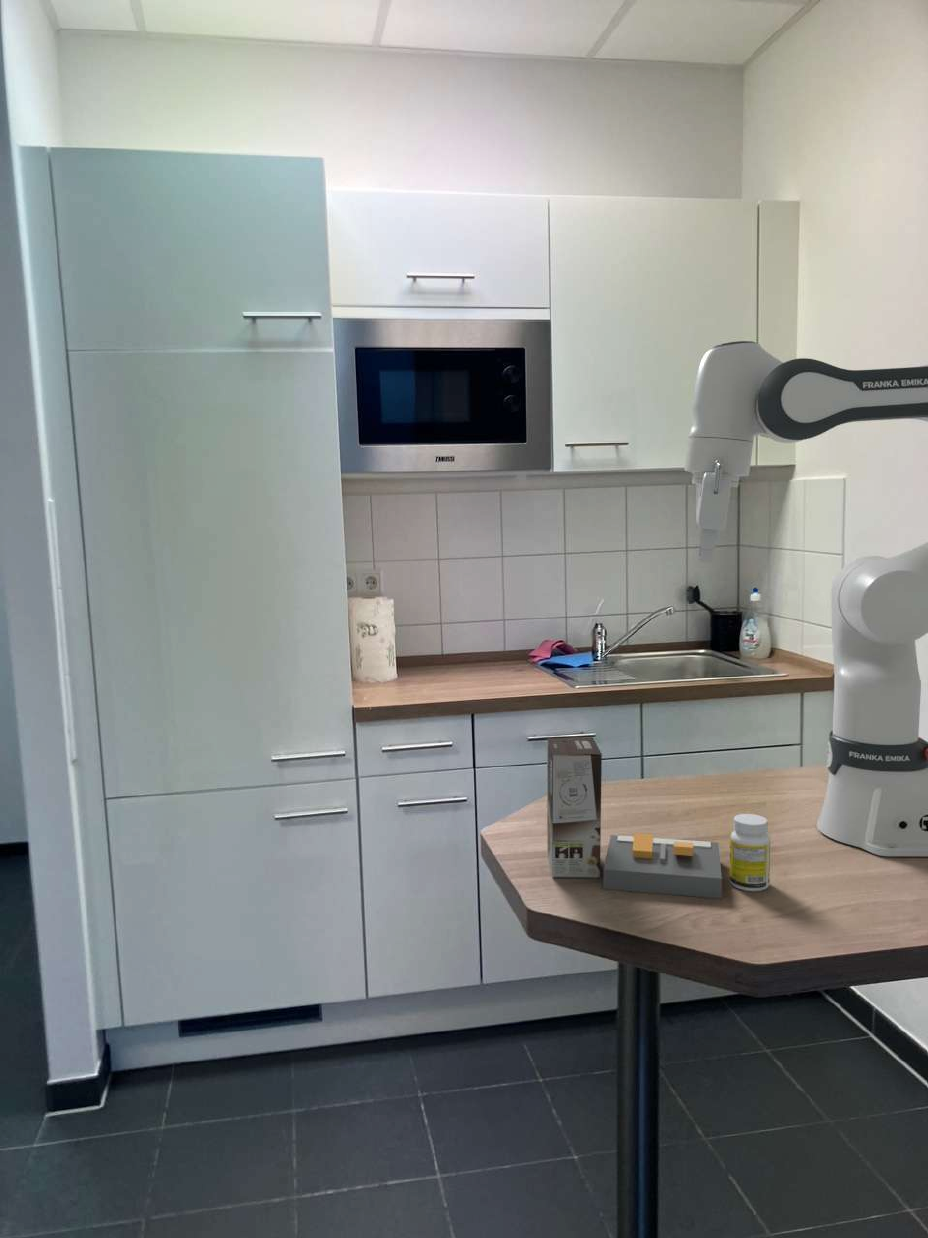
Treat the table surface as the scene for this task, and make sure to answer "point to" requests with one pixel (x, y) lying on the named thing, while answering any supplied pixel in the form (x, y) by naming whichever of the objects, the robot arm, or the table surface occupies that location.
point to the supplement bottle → (750, 853)
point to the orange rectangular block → (683, 848)
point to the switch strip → (664, 868)
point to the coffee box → (574, 806)
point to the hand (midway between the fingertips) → (705, 559)
